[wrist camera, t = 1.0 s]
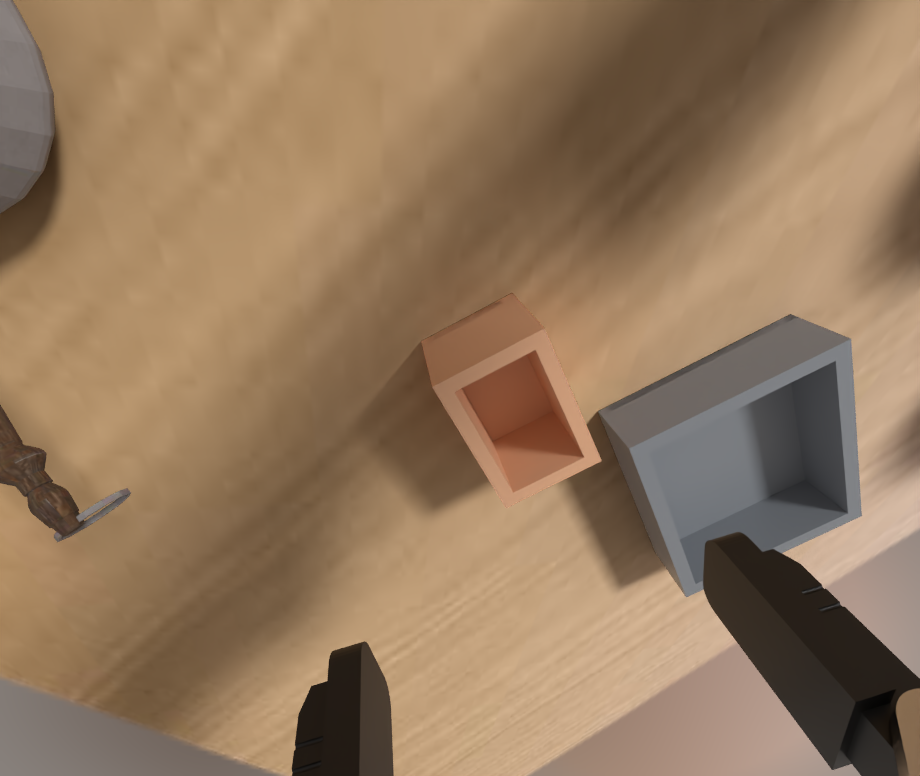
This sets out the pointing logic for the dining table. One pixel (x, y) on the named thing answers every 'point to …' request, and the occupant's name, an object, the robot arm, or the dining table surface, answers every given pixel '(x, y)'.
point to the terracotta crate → (510, 399)
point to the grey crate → (743, 446)
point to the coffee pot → (4, 184)
